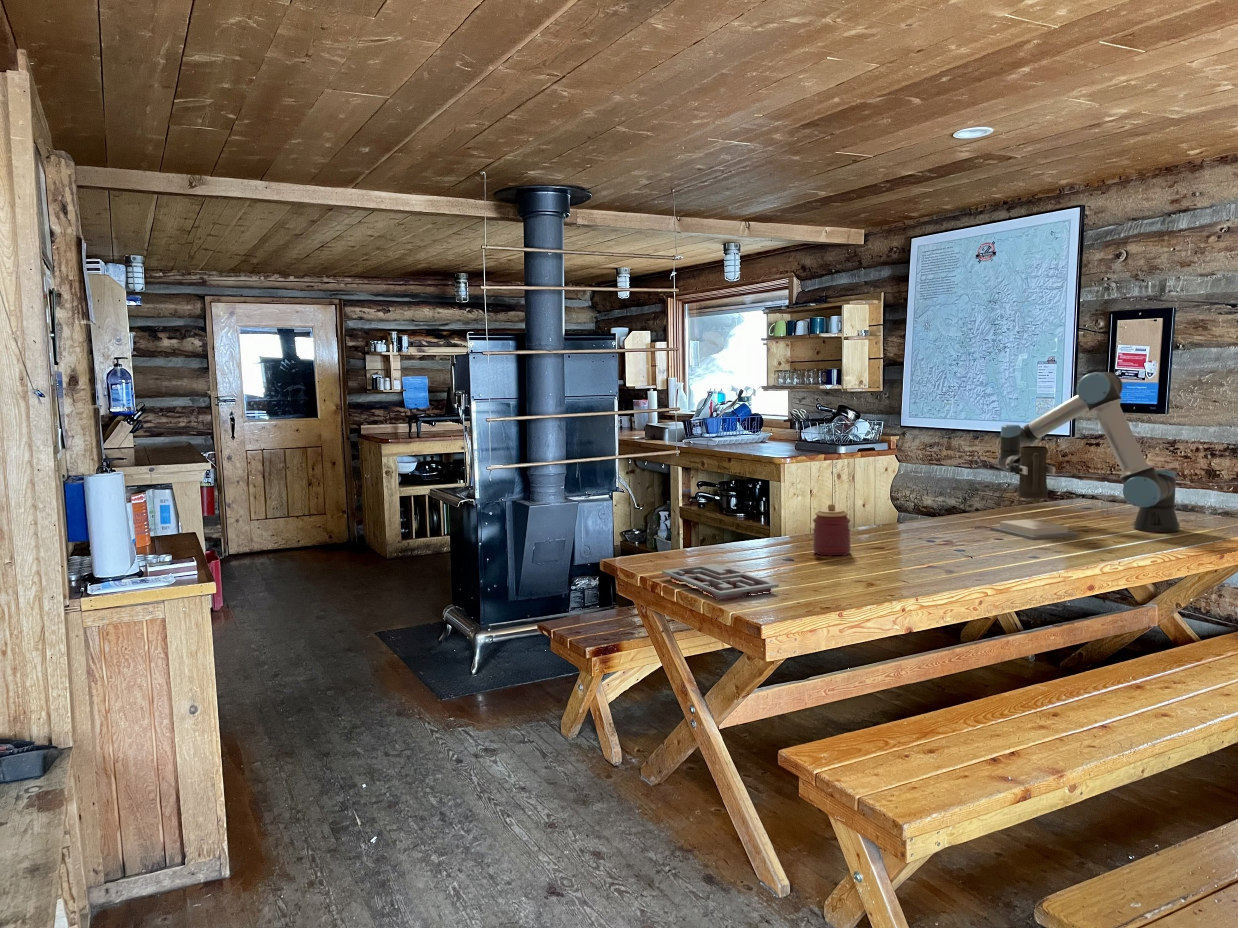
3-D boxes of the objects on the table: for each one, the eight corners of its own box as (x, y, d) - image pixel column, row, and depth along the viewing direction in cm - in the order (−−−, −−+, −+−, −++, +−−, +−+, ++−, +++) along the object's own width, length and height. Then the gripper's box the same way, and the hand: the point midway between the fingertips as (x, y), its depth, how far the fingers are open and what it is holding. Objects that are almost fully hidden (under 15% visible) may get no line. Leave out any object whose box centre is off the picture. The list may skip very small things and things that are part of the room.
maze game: (778, 594, 256) (778, 584, 256) (720, 603, 248) (720, 592, 248) (715, 572, 288) (715, 563, 288) (662, 580, 280) (661, 570, 279)
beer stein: (1013, 494, 351) (1015, 444, 347) (1042, 494, 349) (1044, 444, 345) (1024, 503, 336) (1026, 451, 332) (1054, 502, 334) (1057, 450, 330)
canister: (821, 548, 322) (821, 500, 320) (856, 551, 315) (856, 502, 313) (807, 554, 312) (806, 505, 310) (842, 558, 304) (842, 507, 302)
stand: (1033, 526, 356) (1033, 517, 355) (1077, 535, 332) (1078, 526, 332) (990, 529, 351) (990, 520, 350) (1032, 539, 327) (1032, 530, 327)
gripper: (1046, 473, 357) (1069, 480, 335) (990, 474, 359) (1010, 481, 337) (1046, 455, 357) (1070, 460, 334) (990, 456, 359) (1010, 461, 336)
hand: (1040, 470), depth 336 cm, fingers closed on beer stein, 9 cm apart
